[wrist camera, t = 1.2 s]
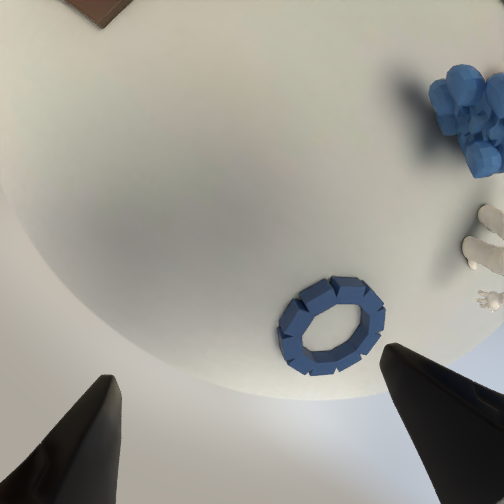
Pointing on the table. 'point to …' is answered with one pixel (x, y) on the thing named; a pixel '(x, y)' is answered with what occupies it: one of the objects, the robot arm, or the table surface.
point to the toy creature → (487, 252)
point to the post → (99, 9)
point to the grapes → (472, 116)
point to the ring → (318, 302)
